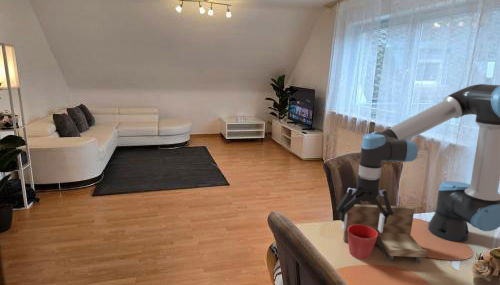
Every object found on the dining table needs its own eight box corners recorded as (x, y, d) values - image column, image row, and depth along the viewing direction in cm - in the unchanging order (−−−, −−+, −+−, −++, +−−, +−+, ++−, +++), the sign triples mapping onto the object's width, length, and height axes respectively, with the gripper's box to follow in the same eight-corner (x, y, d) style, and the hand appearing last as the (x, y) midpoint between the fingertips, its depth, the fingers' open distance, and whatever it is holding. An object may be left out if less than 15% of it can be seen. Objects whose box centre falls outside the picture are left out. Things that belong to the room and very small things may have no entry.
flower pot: (377, 264, 116) (380, 240, 114) (346, 259, 118) (348, 236, 116) (372, 248, 126) (375, 226, 124) (344, 244, 128) (346, 222, 126)
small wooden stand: (407, 245, 129) (409, 231, 128) (424, 265, 115) (427, 251, 114) (375, 243, 130) (376, 230, 128) (388, 264, 116) (390, 249, 115)
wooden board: (406, 242, 131) (412, 206, 127) (408, 245, 129) (414, 208, 125) (343, 239, 132) (346, 203, 128) (344, 242, 130) (348, 206, 126)
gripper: (399, 175, 118) (391, 227, 123) (332, 171, 119) (326, 223, 124) (408, 182, 111) (399, 237, 116) (336, 178, 112) (330, 233, 117)
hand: (361, 230), depth 120 cm, fingers open, 13 cm apart
